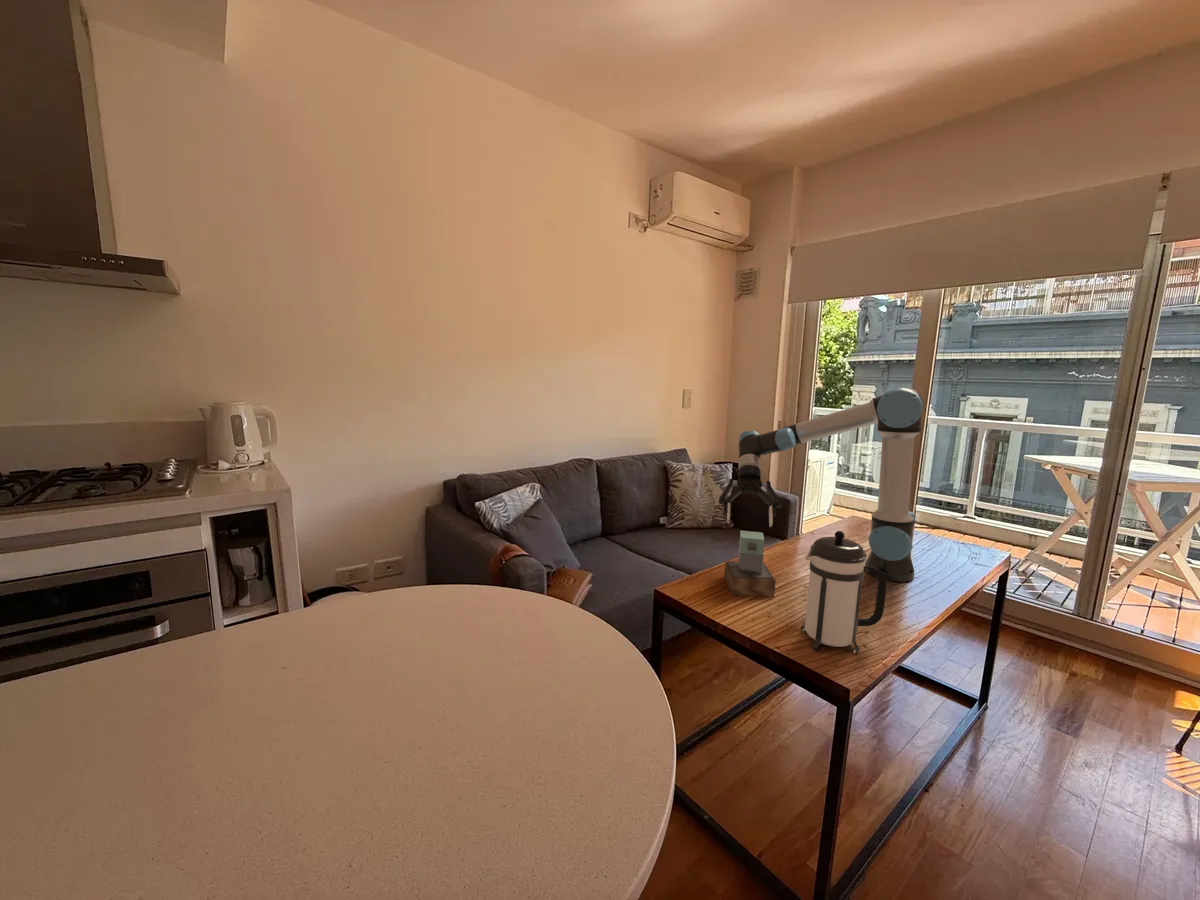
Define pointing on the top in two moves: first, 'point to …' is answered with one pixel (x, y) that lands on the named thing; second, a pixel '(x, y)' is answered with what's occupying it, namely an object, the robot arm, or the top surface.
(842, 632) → the coffee press
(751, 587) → the walnut stand
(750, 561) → the base
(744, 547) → the lid
